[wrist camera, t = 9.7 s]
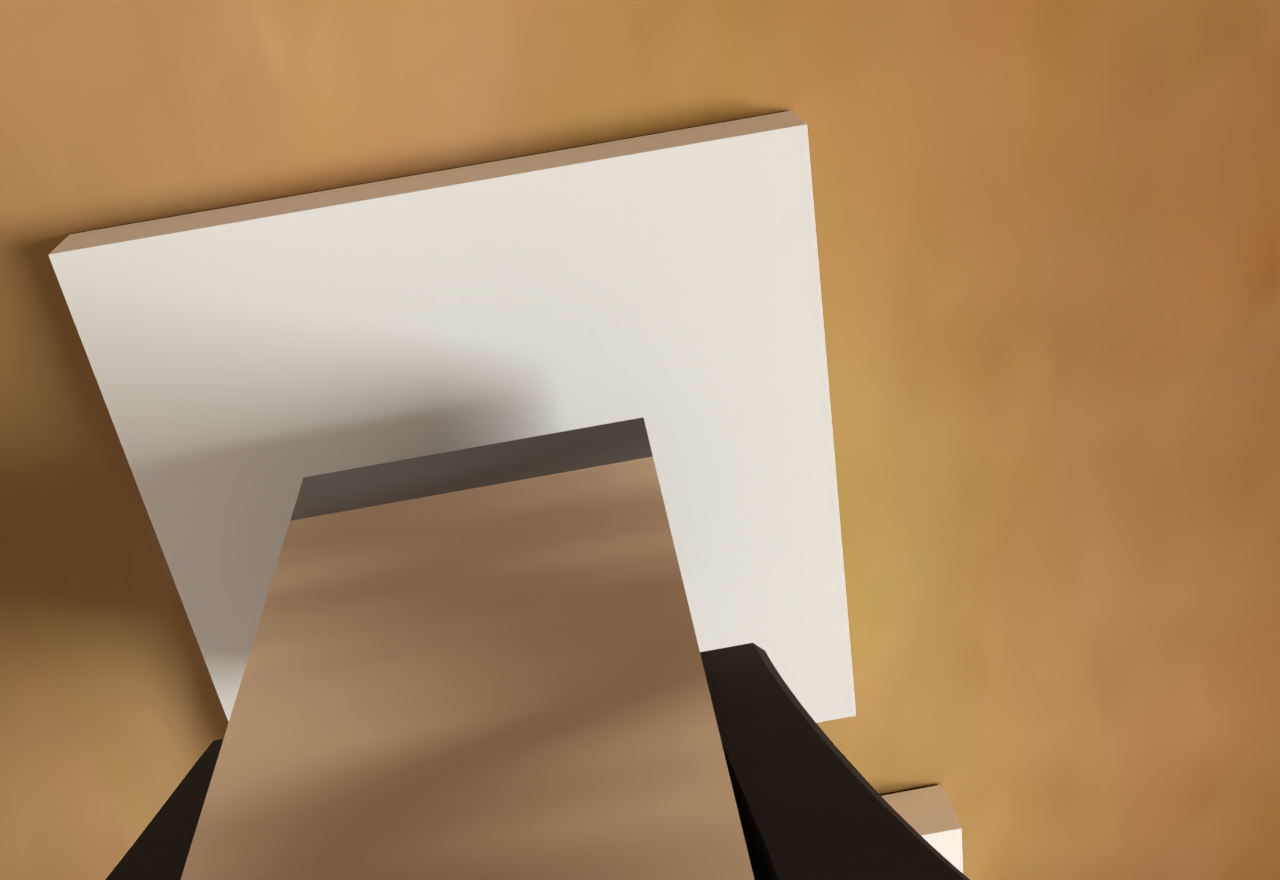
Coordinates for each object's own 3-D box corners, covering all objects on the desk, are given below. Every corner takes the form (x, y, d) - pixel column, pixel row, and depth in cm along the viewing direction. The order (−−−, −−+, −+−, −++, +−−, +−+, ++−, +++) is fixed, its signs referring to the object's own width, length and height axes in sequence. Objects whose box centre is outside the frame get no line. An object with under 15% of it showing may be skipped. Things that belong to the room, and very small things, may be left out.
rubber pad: (792, 110, 15) (807, 124, 14) (843, 683, 19) (856, 715, 19) (69, 234, 15) (48, 254, 14) (276, 786, 19) (267, 823, 18)
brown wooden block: (643, 417, 14) (825, 1170, 6) (687, 687, 16) (870, 1539, 8) (304, 477, 14) (47, 1320, 6) (385, 742, 16) (270, 1657, 8)
